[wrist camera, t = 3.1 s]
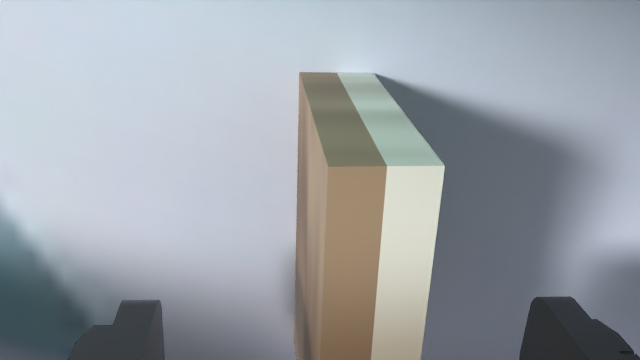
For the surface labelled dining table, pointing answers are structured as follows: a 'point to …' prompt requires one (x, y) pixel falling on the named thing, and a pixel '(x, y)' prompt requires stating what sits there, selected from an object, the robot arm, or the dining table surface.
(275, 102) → the dining table surface
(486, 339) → the dining table surface
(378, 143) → the slab
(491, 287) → the dining table surface
